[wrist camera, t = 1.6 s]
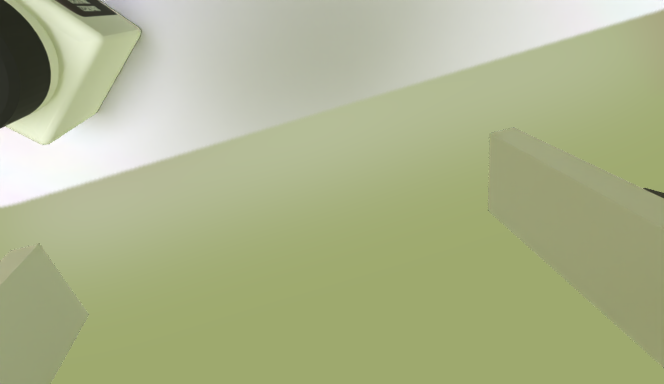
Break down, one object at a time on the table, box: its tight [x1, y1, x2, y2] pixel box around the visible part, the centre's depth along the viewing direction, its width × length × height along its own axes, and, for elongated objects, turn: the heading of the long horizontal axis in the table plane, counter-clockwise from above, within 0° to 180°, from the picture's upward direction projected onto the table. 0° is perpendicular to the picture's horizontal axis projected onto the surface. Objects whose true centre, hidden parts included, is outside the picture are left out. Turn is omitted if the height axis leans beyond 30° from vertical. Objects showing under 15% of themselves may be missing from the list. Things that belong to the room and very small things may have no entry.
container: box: [0, 0, 141, 145], centre depth 20 cm, size 8×8×13 cm
